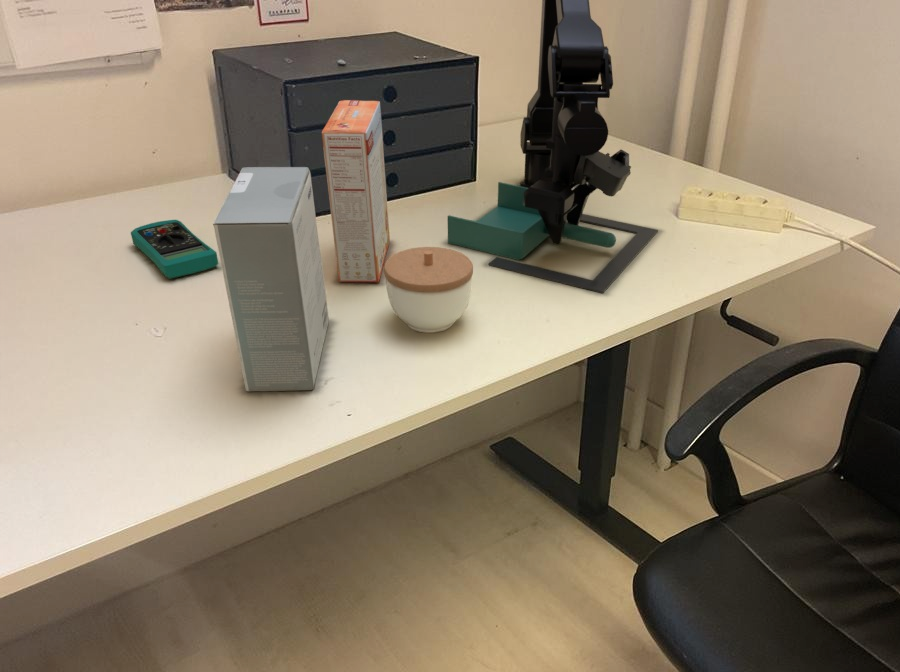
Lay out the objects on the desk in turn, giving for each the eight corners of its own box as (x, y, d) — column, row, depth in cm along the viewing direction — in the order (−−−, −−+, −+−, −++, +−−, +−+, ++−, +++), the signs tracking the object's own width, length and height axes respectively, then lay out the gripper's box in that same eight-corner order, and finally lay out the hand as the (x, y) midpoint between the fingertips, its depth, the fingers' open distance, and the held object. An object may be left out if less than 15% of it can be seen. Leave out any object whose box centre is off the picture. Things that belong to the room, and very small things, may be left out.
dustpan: (447, 243, 122) (447, 216, 119) (498, 206, 134) (499, 181, 132) (592, 278, 113) (595, 249, 111) (632, 236, 126) (635, 210, 123)
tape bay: (488, 265, 116) (488, 263, 115) (556, 210, 134) (556, 208, 134) (602, 293, 109) (603, 291, 109) (657, 231, 127) (658, 229, 127)
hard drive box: (267, 322, 100) (242, 165, 89) (329, 321, 101) (313, 165, 90) (243, 393, 87) (211, 220, 76) (315, 392, 88) (293, 220, 77)
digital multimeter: (181, 233, 122) (177, 214, 120) (221, 268, 112) (217, 248, 111) (131, 245, 118) (127, 226, 116) (168, 282, 108) (163, 262, 107)
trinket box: (406, 350, 96) (402, 279, 90) (375, 310, 104) (370, 242, 98) (487, 331, 100) (488, 262, 95) (451, 294, 108) (450, 228, 103)
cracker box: (350, 241, 121) (338, 98, 110) (391, 242, 121) (382, 99, 110) (334, 283, 109) (319, 128, 98) (379, 284, 110) (368, 129, 98)
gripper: (602, 161, 103) (591, 272, 112) (648, 125, 117) (636, 226, 126) (523, 146, 107) (519, 254, 116) (577, 113, 121) (570, 212, 130)
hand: (564, 236), depth 122 cm, fingers open, 6 cm apart
